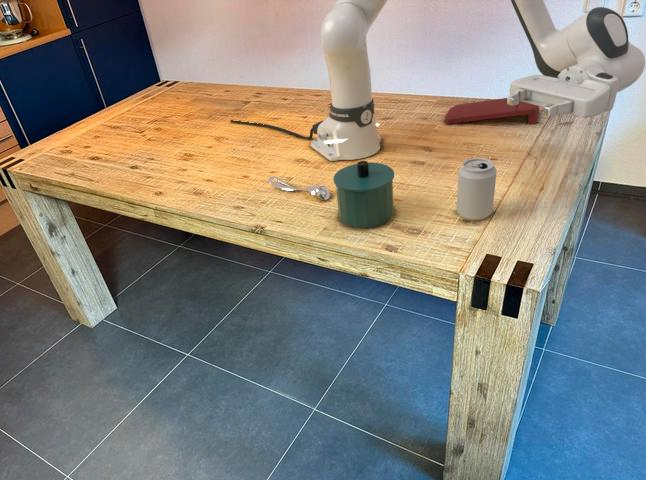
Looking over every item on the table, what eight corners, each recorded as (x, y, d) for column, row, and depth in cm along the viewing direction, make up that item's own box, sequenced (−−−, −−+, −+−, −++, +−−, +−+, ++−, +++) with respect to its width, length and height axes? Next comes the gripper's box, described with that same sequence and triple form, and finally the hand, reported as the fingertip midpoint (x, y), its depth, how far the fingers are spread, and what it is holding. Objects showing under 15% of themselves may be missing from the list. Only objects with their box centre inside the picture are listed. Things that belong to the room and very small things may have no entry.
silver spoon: (262, 174, 135) (274, 167, 138) (264, 186, 138) (275, 178, 140) (321, 193, 124) (333, 185, 127) (322, 206, 126) (333, 197, 129)
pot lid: (322, 188, 113) (320, 171, 111) (353, 163, 121) (351, 147, 118) (375, 198, 105) (374, 181, 103) (404, 171, 113) (404, 154, 111)
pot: (329, 222, 118) (325, 185, 113) (356, 197, 125) (353, 162, 120) (376, 233, 111) (374, 194, 106) (402, 206, 119) (401, 169, 113)
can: (494, 222, 108) (499, 170, 101) (457, 223, 109) (460, 172, 102) (490, 204, 113) (495, 154, 106) (455, 205, 115) (457, 156, 108)
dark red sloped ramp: (445, 135, 155) (535, 125, 142) (443, 119, 153) (535, 108, 140) (453, 120, 164) (539, 109, 150) (451, 105, 161) (539, 93, 148)
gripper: (539, 63, 113) (490, 81, 109) (626, 79, 97) (573, 101, 93) (536, 92, 116) (489, 110, 113) (619, 111, 100) (568, 133, 97)
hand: (527, 106), depth 103 cm, fingers open, 8 cm apart
